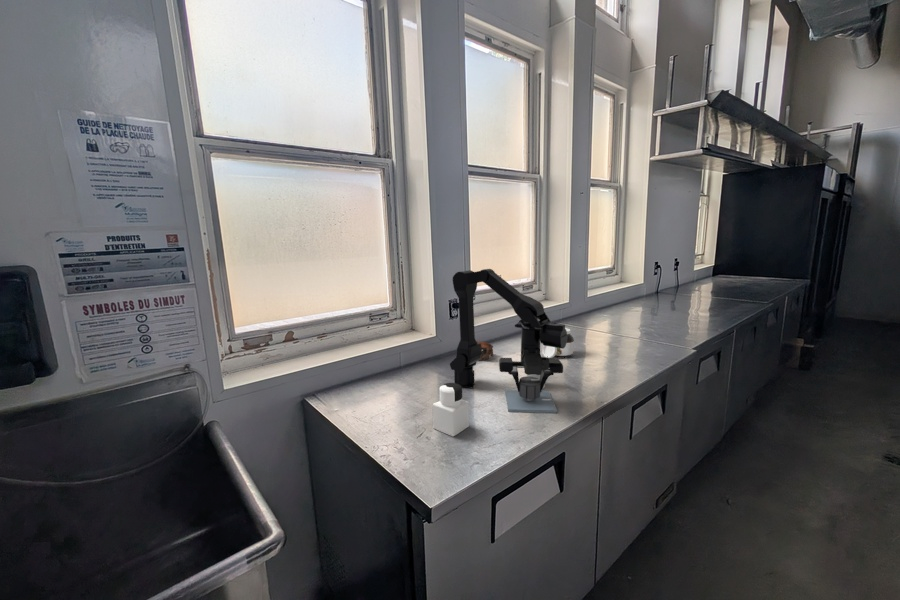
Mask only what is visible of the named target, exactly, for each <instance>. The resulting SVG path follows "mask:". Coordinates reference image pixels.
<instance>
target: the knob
mask: <svg viewBox="0 0 900 600" xmlns="http://www.w3.org/2000/svg"><path fill="white" fill-rule="evenodd" d="M519 386H520V392H519V396H520V397H523V398H525V399H526V398H527V399H537V398H539V397H540V380H539V379H538V378H536V377H530V376H522V377H519Z"/></svg>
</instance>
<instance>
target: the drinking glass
mask: <svg viewBox="0 0 900 600" xmlns="http://www.w3.org/2000/svg"><path fill="white" fill-rule="evenodd" d="M541 357H545V356H544V355H541ZM526 375H527V374H526ZM527 376H530V377H536V378H538V379H539V380H540V375H536V374H531V375H527ZM545 387H546V383H545V384H544V387H543V389H545Z"/></svg>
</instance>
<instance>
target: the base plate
mask: <svg viewBox="0 0 900 600" xmlns="http://www.w3.org/2000/svg"><path fill="white" fill-rule="evenodd" d="M504 394H505V399H506V406H507V412H508V413H533V414H534V413H538V414H539V413H540V414H541V413H543V414H558V409H557V407H556V406H555V403H554V400H553V398H552V396H551V393H550V392H549V390H542V391H541V392H540V397H539V398H537V399H527V398H526V399H525V398H523V397H520V396H519V392H518V389H505V390H504Z"/></svg>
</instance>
